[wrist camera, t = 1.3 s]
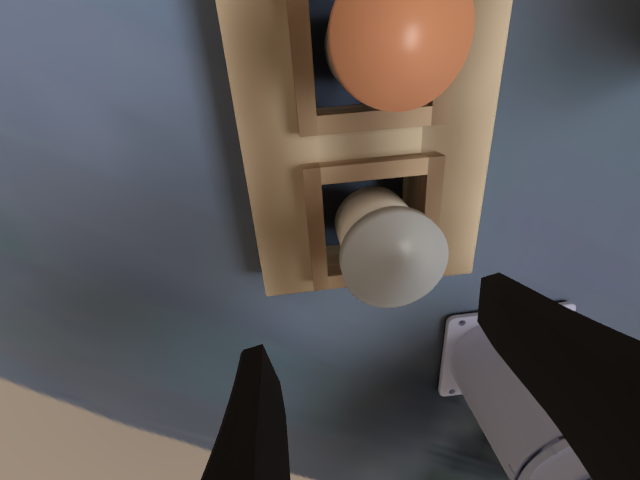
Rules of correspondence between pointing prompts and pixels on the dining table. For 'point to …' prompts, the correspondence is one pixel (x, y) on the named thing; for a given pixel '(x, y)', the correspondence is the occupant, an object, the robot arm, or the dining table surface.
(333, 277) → the socket board
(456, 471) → the dining table surface
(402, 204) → the grey plug
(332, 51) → the rust plug
